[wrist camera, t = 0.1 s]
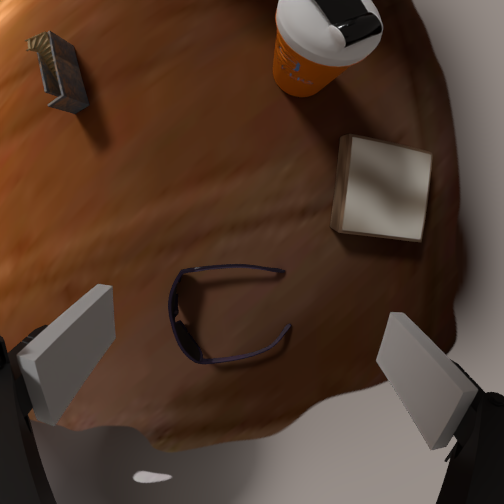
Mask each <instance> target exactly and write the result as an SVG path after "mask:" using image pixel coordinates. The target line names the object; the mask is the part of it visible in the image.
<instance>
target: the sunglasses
mask: <svg viewBox="0 0 504 504" xmlns="http://www.w3.org/2000/svg"><path fill="white" fill-rule="evenodd" d="M222 268H252V269H261V270H267V271H272V272H280V273H284V272H285V270H282V269H279V268H268V267H262V266H256V265H246V264H226V265H213V266H203V267H195V268H187V269H183V270H181V271H180V272H179V274H178V276H177V277H176V279H175V281H174V283H173V285H172V288H171V291H170V294H169V300H168V310H169V318H170V321H171V326H172V330H173V333H174V335H175V338H176V341H177V343H178V345H179V347H180V349H181V350H182V351H183V353H184V354H185V355H186V356H187V357H188V358H189V359H190V360H192V361H193V362H195V363H198V364H214V363H222V362H229V361H235V360H240V359H244V358H248V357H252V356H255V355H258V354H260V353H263V352H265V351H267V350H269V349H271V348H272V347H274V346H275V345H276V344H277V343H278V342H279V341H280V340H281V339H282V337H283V336H284V335H285V333H286V332H287V331H288V330H289V328H290V327H291V324H288V325H286V326H285V328H284V329H283V331H282V332H281V334H280V335H279V337H278V338H277V339H276V340H275V341H274V342H273V343H272V344H271V345H269V346H267V347H265V348H263V349H261V350H258V351H256V352H252V353H248V354H243V355H238V356H232V357H224V358H214V359H204V358H203V354H202V351H201V349H200V347H199V346H198V344H197V343H196V342H195V340H194V339H193V337H192V336H191V335H190V333H187V332H188V331H187V329H186V327H185V326H184V324H183V323H182V321H181V320H179V321H177V322H175V317H176V316H177V315H178V313H179V311H178V294H176V288H177V283H178V282H180V281H181V277H182V275H183V274H184V273H188V272H197V271H203V270H210V269H222Z"/></svg>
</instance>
